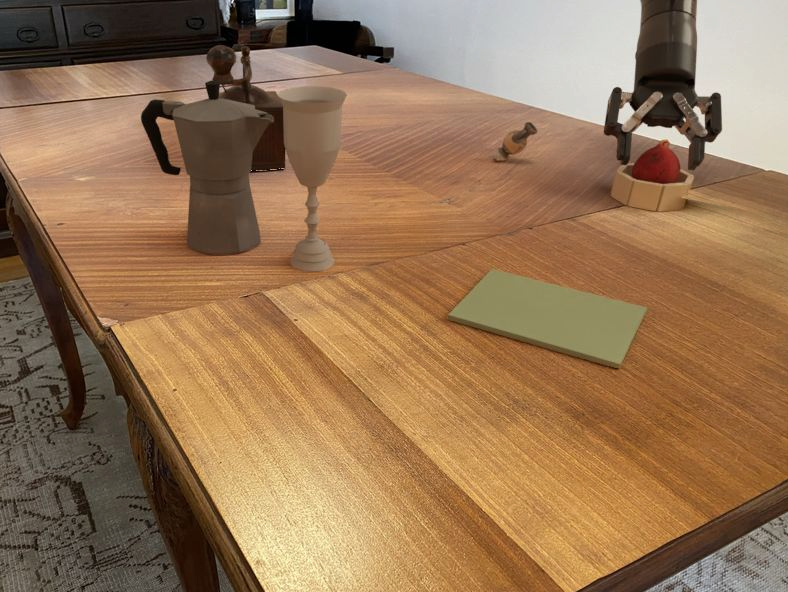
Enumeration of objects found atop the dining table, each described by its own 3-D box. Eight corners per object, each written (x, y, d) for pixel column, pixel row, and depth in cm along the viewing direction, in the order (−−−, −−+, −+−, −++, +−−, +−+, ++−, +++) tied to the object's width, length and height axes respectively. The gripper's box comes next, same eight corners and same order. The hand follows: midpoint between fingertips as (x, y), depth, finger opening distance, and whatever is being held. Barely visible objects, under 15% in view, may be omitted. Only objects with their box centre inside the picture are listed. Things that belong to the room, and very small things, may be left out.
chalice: (284, 247, 82) (281, 85, 72) (343, 248, 82) (347, 86, 72) (278, 275, 76) (274, 102, 66) (342, 276, 76) (346, 103, 66)
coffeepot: (289, 231, 86) (286, 75, 76) (263, 263, 78) (256, 95, 69) (173, 217, 89) (156, 67, 80) (137, 247, 82) (114, 84, 72)
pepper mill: (209, 153, 112) (199, 30, 103) (278, 149, 114) (275, 29, 104) (215, 185, 99) (205, 48, 90) (293, 181, 101) (291, 46, 92)
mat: (646, 312, 70) (647, 307, 69) (618, 369, 61) (620, 364, 61) (491, 273, 77) (492, 268, 76) (447, 319, 68) (447, 314, 68)
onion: (655, 209, 93) (672, 149, 89) (617, 196, 97) (631, 138, 93) (679, 200, 96) (696, 141, 92) (641, 188, 100) (656, 131, 96)
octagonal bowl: (690, 195, 98) (697, 170, 96) (679, 216, 91) (687, 190, 89) (620, 182, 102) (626, 158, 100) (605, 202, 95) (611, 176, 93)
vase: (537, 159, 111) (543, 120, 108) (525, 168, 107) (531, 128, 104) (504, 153, 113) (509, 115, 110) (491, 162, 110) (496, 123, 106)
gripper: (618, 36, 94) (610, 146, 91) (733, 41, 92) (729, 154, 88) (604, 71, 101) (596, 174, 98) (710, 76, 99) (705, 182, 96)
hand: (659, 164), depth 93 cm, fingers open, 8 cm apart
